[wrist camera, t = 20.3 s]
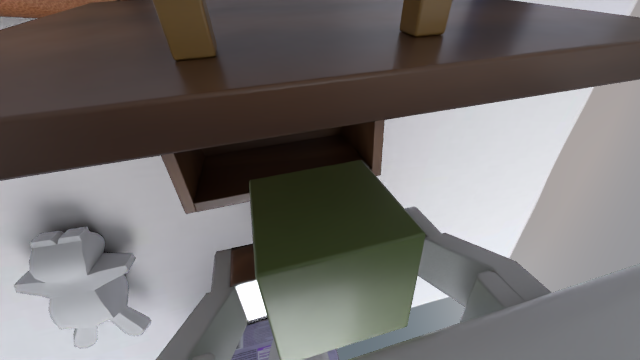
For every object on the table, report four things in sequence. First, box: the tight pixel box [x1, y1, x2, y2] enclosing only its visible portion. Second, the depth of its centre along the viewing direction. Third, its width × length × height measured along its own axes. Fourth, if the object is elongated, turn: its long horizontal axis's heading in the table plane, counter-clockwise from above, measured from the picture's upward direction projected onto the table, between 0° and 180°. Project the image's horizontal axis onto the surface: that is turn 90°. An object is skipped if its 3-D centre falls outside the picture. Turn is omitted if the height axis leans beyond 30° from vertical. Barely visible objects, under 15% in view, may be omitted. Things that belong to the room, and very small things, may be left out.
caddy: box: [161, 120, 384, 214], centre depth 21 cm, size 13×16×9 cm
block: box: [249, 160, 426, 360], centre depth 9 cm, size 4×4×4 cm
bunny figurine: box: [14, 227, 151, 348], centre depth 28 cm, size 10×5×15 cm
